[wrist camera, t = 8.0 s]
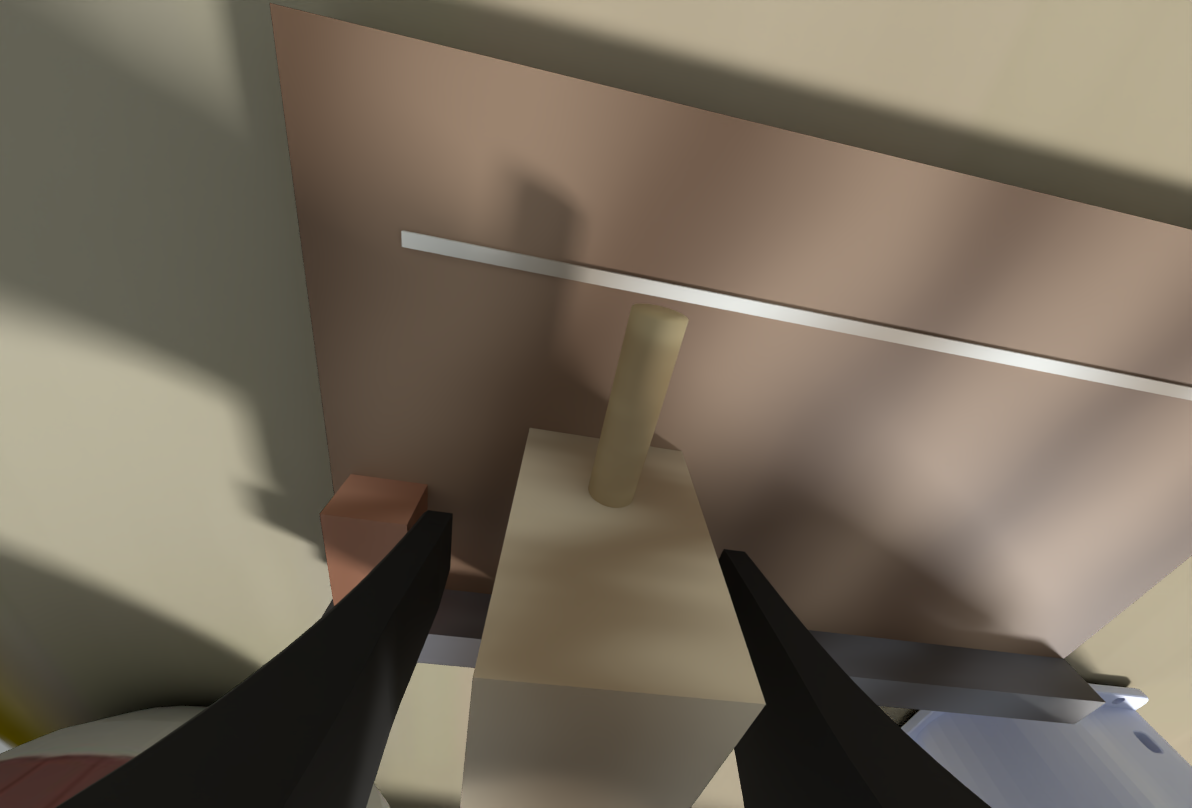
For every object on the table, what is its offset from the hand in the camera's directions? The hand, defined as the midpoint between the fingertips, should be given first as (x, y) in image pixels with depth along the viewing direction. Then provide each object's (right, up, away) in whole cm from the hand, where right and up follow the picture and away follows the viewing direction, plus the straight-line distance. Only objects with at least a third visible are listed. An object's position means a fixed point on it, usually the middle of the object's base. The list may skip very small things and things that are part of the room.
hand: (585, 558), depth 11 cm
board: (+6, +2, +2) cm, 7 cm away
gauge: (0, +2, 0) cm, 2 cm away
